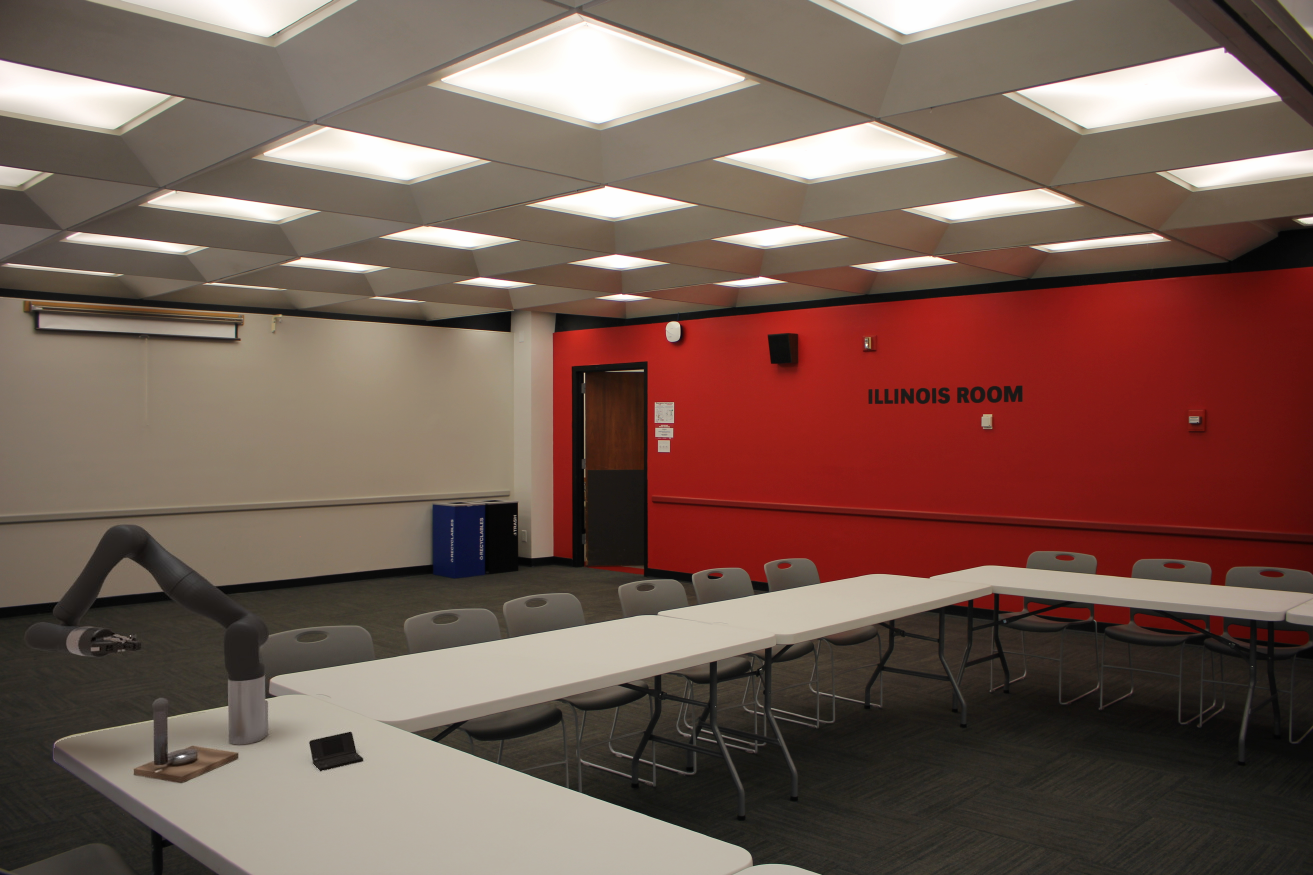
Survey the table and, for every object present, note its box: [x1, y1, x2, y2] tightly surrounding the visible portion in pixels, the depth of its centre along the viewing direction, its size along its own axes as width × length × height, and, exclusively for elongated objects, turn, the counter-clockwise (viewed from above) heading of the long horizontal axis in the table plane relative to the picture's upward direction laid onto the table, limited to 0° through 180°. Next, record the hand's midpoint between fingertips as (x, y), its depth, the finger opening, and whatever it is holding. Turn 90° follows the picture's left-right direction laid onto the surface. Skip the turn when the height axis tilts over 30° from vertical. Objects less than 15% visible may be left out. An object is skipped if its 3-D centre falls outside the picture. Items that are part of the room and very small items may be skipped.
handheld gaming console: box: [308, 731, 364, 772], centre depth 222 cm, size 12×7×10 cm
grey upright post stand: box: [151, 697, 198, 766], centre depth 217 cm, size 11×7×17 cm, turn 153°
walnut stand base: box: [133, 745, 239, 784], centre depth 219 cm, size 17×16×2 cm
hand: (138, 646), depth 222 cm, fingers closed
